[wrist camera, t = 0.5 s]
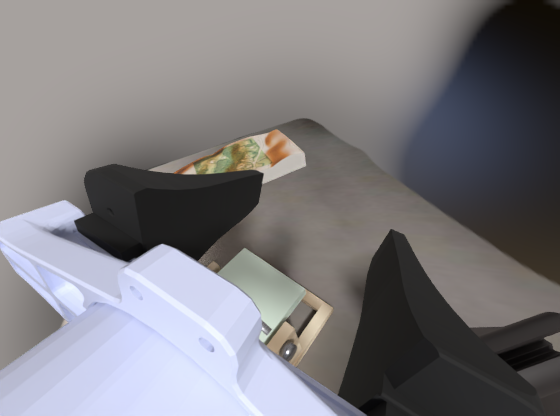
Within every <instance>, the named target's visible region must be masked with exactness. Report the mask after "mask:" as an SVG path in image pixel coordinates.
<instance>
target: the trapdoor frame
mask: <svg viewBox="0 0 560 416" xmlns="http://www.w3.org/2000/svg"><path fill="white" fill-rule="evenodd" d="M204 266H206V265H204ZM206 267H207V268H209V269H211V270H212V271H214V272H215V273H218V272H219V271H220V270H221V268H220V267H219V265H218V264H217V263H215V262H214V261H213V262H212V263H210V264H209V265H208V266H206ZM305 291H306V295H305V296H304V297H303V299H302V300H301V301H303V302H304V303H305V304H307V305H308V306H310V307H311V308H312V309H314V310H315V311H316V314H315V315H314V317H313V318H312V320H311V321H310V322H309V324H308V325H307V327H306V328H305V330H304V331H303V332H302V334H301V335H300V337H299V338H298V337H297V334H296V332H295V329H294V328H293V327H292V326H291V325H290V324H288V323H287V322H286V321H285V322H284V323H283V325H282V326H281V327H280V329H279V330H278V331H277V333H276V334H275V335H274V336H273V338H272V339H271V340H270V342H269V343H268V344H267V347H268V348H269V349H270V350H271V351H273V352H274V353H276V354H277V355H279V356H280V357H282V358H283V359H285V360H286V361H288V362H289V363H291V364H292V365H294V366H295V367H297V365H298V364H299V362H300V361H301V359H302V358H303V356H304V355H305V353H306V352H307V350H308V349H309V347H310V346H311V344H312V343H313V341H314V340H315V338H316V337H317V335H318V334H319V332H320V330H321V329H322V327H323V326H324V324H325V323H326V321H327V320H328V318H329V317H330V315H331V314H332V312H333V307H331V306H330V305H328V304H327V303H325V302H324V301H322V300H321V299H319V298H318V297H316V296H315V295H314V294H312V293H311V292H309V291H308V290H306V289H305Z"/></svg>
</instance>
